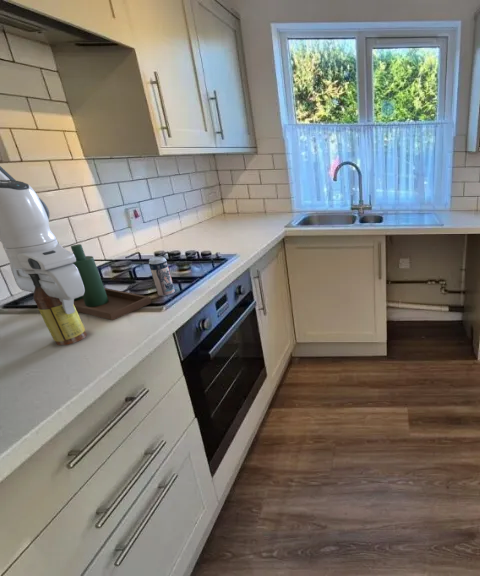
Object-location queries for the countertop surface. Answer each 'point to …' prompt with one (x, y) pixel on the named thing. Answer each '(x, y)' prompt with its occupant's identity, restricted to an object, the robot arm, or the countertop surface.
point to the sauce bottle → (57, 317)
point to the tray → (114, 304)
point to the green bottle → (89, 278)
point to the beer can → (161, 276)
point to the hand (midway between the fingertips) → (59, 310)
